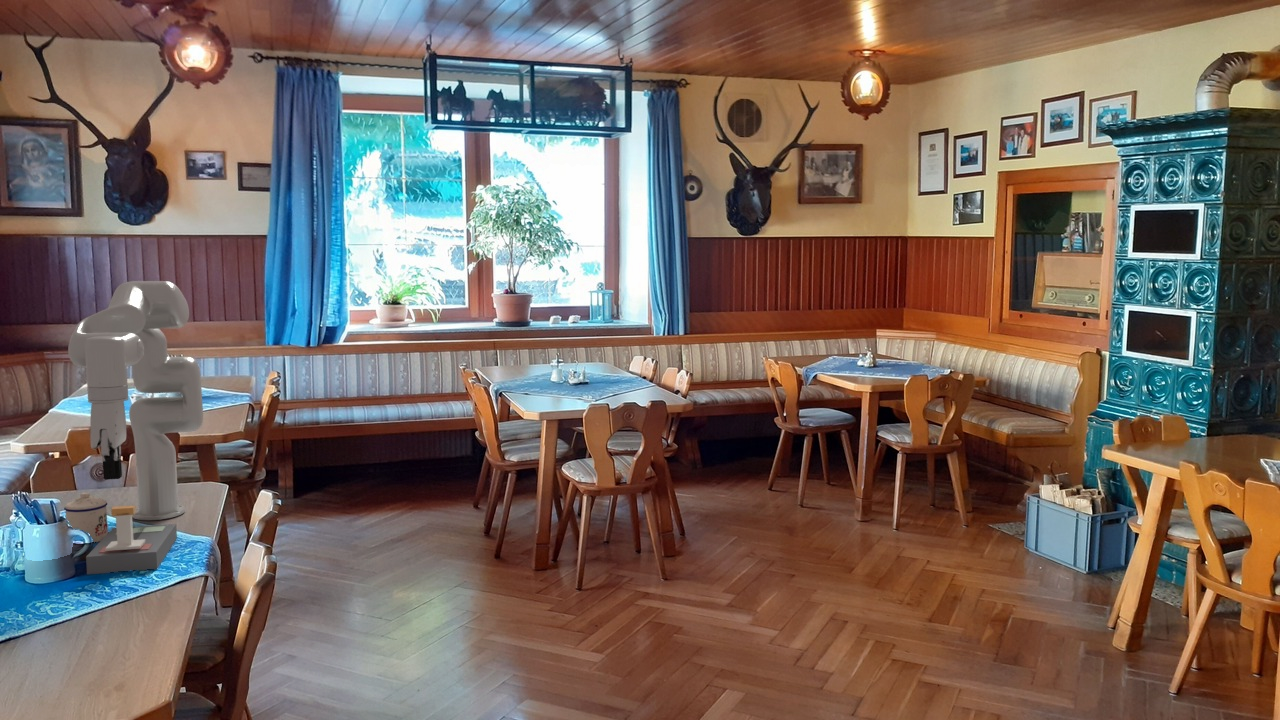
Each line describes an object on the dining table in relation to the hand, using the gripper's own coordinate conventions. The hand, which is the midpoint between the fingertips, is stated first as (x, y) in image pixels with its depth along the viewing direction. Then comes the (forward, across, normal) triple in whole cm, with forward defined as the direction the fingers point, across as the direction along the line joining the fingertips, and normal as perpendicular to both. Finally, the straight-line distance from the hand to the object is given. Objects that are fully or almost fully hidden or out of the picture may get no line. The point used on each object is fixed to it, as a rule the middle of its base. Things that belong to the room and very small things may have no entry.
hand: (112, 478), depth 204 cm
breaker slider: (+17, -7, 0) cm, 19 cm away
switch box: (+22, -14, 0) cm, 26 cm away
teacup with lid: (+22, -32, -14) cm, 41 cm away
